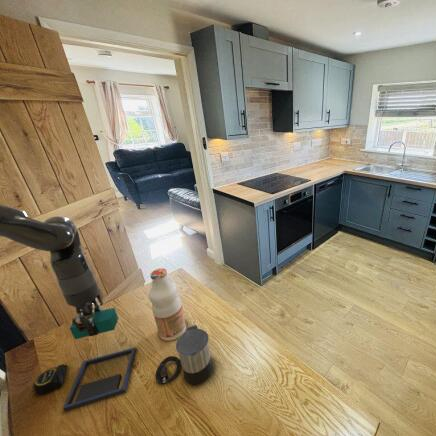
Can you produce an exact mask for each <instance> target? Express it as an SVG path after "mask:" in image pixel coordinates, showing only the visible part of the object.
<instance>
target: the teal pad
mask: <svg viewBox="0 0 436 436" xmlns="http://www.w3.org/2000/svg"><path fill="white" fill-rule="evenodd" d="M88 316H91V315H88ZM88 316H85V317H88ZM75 318H77V315H76V316H75ZM118 321H119V315H118V313H117V311H116V308H115V307H111V308H107V309H103V310H101V311H97V312H95V318H94V322H95V325H96V327H97V330H98V334H97V335H99V334H103V333H107V332H111V331H114V330H115V329H116V326H117V325H118V324H117V323H118ZM88 322H89V323H90V320H88ZM69 330H70V333H71V335H72V336H73V338H74V340H78V339H82V338H87V337H90V336H89V335H88V332H87V331H83V332H80V331H79V330H78V329H77V327H76V326H75V325H74V324H73V323H71V324H70V327H69Z"/></svg>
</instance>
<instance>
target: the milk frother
mask: <svg viewBox="0 0 436 436" xmlns="http://www.w3.org/2000/svg"><path fill="white" fill-rule="evenodd" d="M175 343H176V344H175V351H176V352H177V353H178V356H179V357H178V356H175V355H170V356H167V357H165V358H164V359H163V360H161V362H160V363H159V365H158V367H157V368H156V370H155V380H156V382H157V383H158V384H160V385H165V384H169V383H172V382H173V381H174V380H176V378H177V377H178V376H179V374H180V371H181V368H182V371H183V378H184V381H185V382H186V383H187V384H188V385H190V386H197V385H200V384H203V383H205V382H206V381H207V380H208V379H209V378H210V377H211V376H212V374H213V370H214V364H213V360H212V354H211V350H210V344H209V334H208V333H207V331H206V330H204V329H201V328H198V325H197V324H195V325H194V324H193V325H191V326H189V327H187V328H186V331H185V332H184V333H183V334H182V335H181V336H180V337H178V338H177V340H176V342H175ZM169 362H172V363H175V364H176V369H175V372H174V374H173V375H171V377H169V376H168V373H167V368H166V365H167V364H168V363H169ZM168 377H169V378H168ZM167 378H168V379H167Z"/></svg>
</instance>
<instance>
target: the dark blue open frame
mask: <svg viewBox="0 0 436 436" xmlns="http://www.w3.org/2000/svg"><path fill="white" fill-rule="evenodd" d="M136 351H137V349H136V347H132V348H128V349H123V350H120V351H117V352H113V353H109V354H105V355H102V356H98V357H95V358H90V359H87V360H84V361H82V365H81V367H80V369H79V371H78V374H77V376H76V379H75V381H74V382H73V385H72V388H71V390H70V392H69V394H68V396H67V399H66V401H65V403H64V406H63V408H62V409H63V411H64V412H68V411H71V410H73V409H77V408H80V407H83V406H86V405H89V404H93V403H96V402H99V401H102V400H106V399H108V398H111V397H115V396H118V395H121V394H124V393H127V389H128V384H129V380H130V376H131V371H132V368H133V364H134V359H135V357H136V356H135V354H136ZM128 355H129V360H128V363H127V367H126V371H125V374H124V379H123V383H122V386H121V387H119V388H118V389H116V390H113V391H110V392H107V393H103V394H100V395H97V396H94V397H91V398H87V399H84V400H81V401H78V402H75V401H74V402H73V400H74V398H75V397H76V396H75V395H76V393H77V391H78V388H79V386H80V383H81V381H82V379H83V376H84V374H85V372H86V370H87V367H88V366H89V365H94V364H97V363H101V362H104V361H108V360H111V359H116V358H119V357H122V356H123V357H124V356H128Z"/></svg>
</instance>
